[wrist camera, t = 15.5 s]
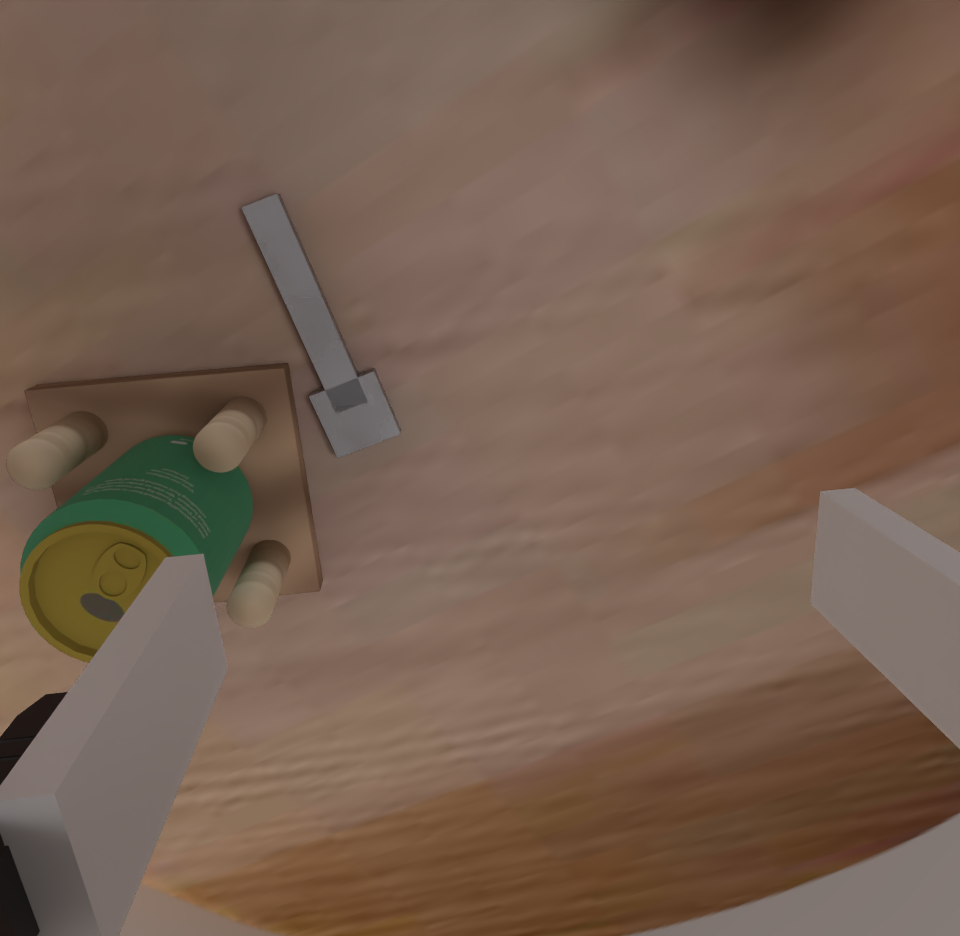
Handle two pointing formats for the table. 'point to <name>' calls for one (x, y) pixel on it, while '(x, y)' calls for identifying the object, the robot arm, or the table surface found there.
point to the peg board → (189, 419)
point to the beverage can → (128, 540)
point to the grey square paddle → (321, 337)
